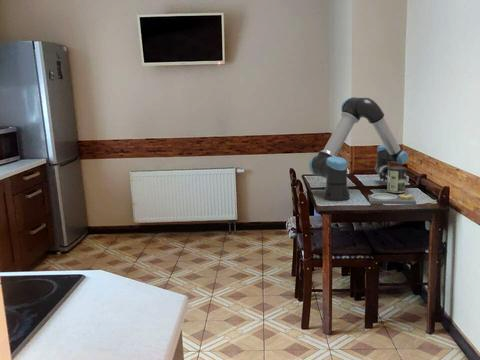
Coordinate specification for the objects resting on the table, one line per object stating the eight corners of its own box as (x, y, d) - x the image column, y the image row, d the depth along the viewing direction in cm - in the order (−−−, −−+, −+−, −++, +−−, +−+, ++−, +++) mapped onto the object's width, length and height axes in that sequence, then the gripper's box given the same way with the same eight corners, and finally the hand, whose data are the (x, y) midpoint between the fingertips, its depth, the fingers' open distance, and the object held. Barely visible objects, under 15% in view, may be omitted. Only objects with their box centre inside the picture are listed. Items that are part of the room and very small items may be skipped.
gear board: (370, 203, 255) (370, 195, 254) (368, 197, 269) (368, 189, 268) (416, 204, 251) (416, 196, 250) (411, 197, 264) (411, 189, 263)
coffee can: (403, 189, 280) (404, 166, 277) (406, 193, 270) (407, 169, 267) (386, 188, 282) (386, 165, 279) (387, 192, 272) (388, 169, 269)
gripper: (404, 177, 292) (417, 185, 271) (369, 178, 293) (379, 186, 271) (405, 165, 291) (418, 172, 269) (369, 167, 291) (379, 173, 269)
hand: (398, 179), depth 270 cm, fingers closed on coffee can, 10 cm apart
